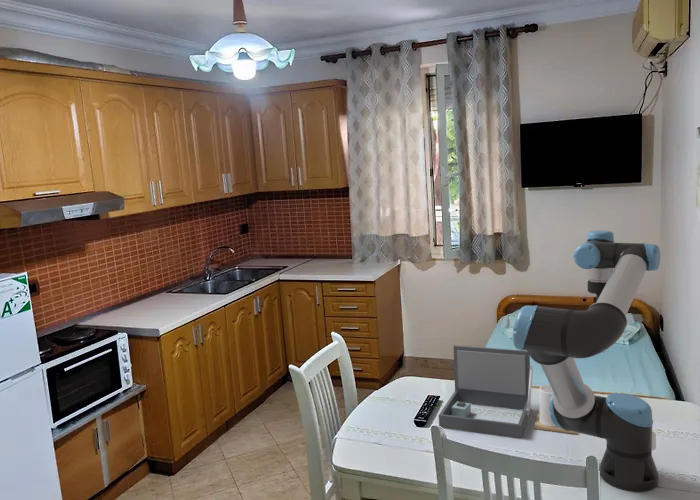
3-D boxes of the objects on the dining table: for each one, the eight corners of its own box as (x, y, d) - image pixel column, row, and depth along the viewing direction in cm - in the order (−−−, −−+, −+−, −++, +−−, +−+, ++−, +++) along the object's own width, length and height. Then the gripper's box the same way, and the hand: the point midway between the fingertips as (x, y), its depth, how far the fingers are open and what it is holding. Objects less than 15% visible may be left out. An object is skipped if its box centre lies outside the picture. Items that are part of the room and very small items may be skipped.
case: (524, 438, 193) (523, 373, 190) (439, 427, 205) (436, 365, 202) (533, 410, 215) (532, 351, 211) (456, 401, 227) (454, 345, 223)
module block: (464, 420, 210) (464, 407, 209) (451, 417, 213) (451, 405, 212) (470, 413, 215) (470, 401, 214) (458, 411, 218) (457, 399, 217)
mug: (574, 418, 205) (574, 385, 203) (575, 429, 197) (575, 395, 195) (539, 415, 209) (538, 383, 207) (538, 425, 201) (538, 392, 199)
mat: (577, 434, 194) (577, 433, 193) (533, 429, 199) (533, 428, 199) (579, 417, 206) (579, 416, 206) (538, 412, 212) (538, 411, 212)
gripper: (613, 288, 170) (613, 358, 172) (613, 272, 192) (613, 335, 195) (585, 287, 173) (585, 356, 176) (589, 272, 195) (589, 333, 198)
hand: (600, 345), depth 185 cm, fingers open, 13 cm apart
